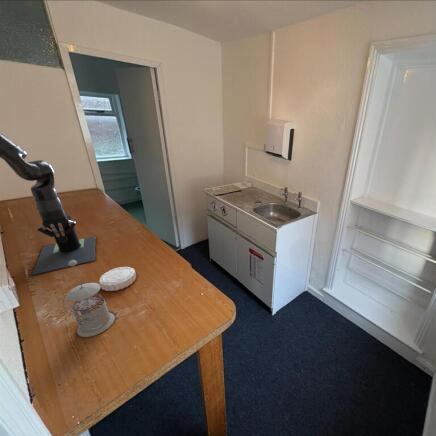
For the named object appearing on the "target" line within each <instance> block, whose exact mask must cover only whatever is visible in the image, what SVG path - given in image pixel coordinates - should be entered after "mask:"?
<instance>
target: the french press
mask: <svg viewBox="0 0 436 436" xmlns="http://www.w3.org/2000/svg"><path fill="white" fill-rule="evenodd" d="M76 264H77V262H76V261H75V260H71V261H69V262H68V266H71V267H73V269H74V271H75V274H76V278H77V279H78V282H79V285H77V286H75V287H74V288H72V289H71V290H70V291H68V292H67V294H66V295H65V298H64V299H63V300H62V303H61V305H62V307H63V310H65V311H66V312H67V313H68V314H70V315H73V316H74V318H75V320H76V322H77V325H78V327H77V330H76V334H77V335H78V336H79V337H83V338H90V337H94V336H97V335H99V334H101V333H103V332H104V331H106V330H107V329H109V328H110V327H111V326H112V325H113V324H114V322H115V318H116V317H115V315H114V314H113V313H112V312H110V311H109V308H108V305H107V302H106V300H105V298H104V297H103V295H102V294H100V293H99V292H100V290H101V286H100V284H99V282H98V283H97V282H88V283H87V282H86V283H82V282H81V279H80V277H79V275H78V274H79V273H78V272H77V270H76V267H75V266H77V265H76ZM74 265H75V266H74ZM65 301H66V303H67V304H68V306H69V307H70V308H71V309H72V312H71V311H69V310H68V309H67V308H66V306H65ZM70 302H74V303H73V304H72V305H71V304H70ZM79 312H80V314H79Z"/></svg>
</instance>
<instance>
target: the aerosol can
mask: <svg viewBox="0 0 436 436" xmlns="http://www.w3.org/2000/svg"><path fill="white" fill-rule="evenodd" d="M65 215H66V217H67V218H68V219H69V220H70V221H73V220H72V215H70V214H67V213H65ZM68 228H69V223H68V224H67V225H66V227H65V231H67V229H68ZM51 231H52V232H53V230H51ZM59 232H60V229H59ZM60 233H61V232H60ZM66 236H67V238H68V241H67V242H66V243H64V244H62V243H60V242H59V240H58V238H57V237H53V238H54V240H55V242H56V243H55V244H57V245H58V247H59V251H60V252H70V251H74V250H76V249H78V248H80V247H81V244H80V242H79V239H80V238H79V237H78V234H77V231H76V229H75V227H74V228H73V229H72V231H71V232H70V234H67V235H66Z"/></svg>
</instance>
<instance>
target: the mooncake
mask: <svg viewBox="0 0 436 436" xmlns="http://www.w3.org/2000/svg"><path fill="white" fill-rule="evenodd" d="M136 279H137V273H136V269H134V267H131V266H120V267H114V268H112V269H110V270H108V271H106V272H104V273H103V274H102V275H101V276H100V278H99V280H98V284H99V285H100V289H101V290H103V291H105V292H113V291H115V292H116V291H119V290H123V289H124V288H127V287H129V286H130V285H132V284H133V283H134V282H135V281H136Z"/></svg>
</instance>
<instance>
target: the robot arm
mask: <svg viewBox="0 0 436 436" xmlns="http://www.w3.org/2000/svg"><path fill="white" fill-rule="evenodd" d="M27 154H28V153H27V152H26V150H24V149H23V148H22V147H20V146H19V145H18V144H16V143H15V142H13V141H12V140H11V139H9V138H8V137H7V136H5V135H4V134H3V133H1V132H0V159H1V160H3V161H4V163H6V164H7V165H8V167H9V168H10V169H11V170H12V171H13V172H14V174H15V175H16V176H18V177H19V178H21V179H23V180H25V181H28V182H34V181H36V182H35V183H34V184H33V185H32V186H31V187H30V192H31V195H32V197H33V199H34V202H35V206H36V210H37V211H38V213H39V216H40V219H41V221H42V223H41V225H40V226H38V227H37V231H38V232H39V233H42V234H44V235H45V236H48V237H51V238H54V237H57V238H58V240H59V242H60V243H62V244H64V243H66V242H67V241H68V238H67V236H66V235H67V234H70V232H71V231H72V229H73V228H75V226H76V224H77V221H76V220H72V221H70V220H69V219H68V218H67V217H66V215H65V214H66V212H65V210H64V207H63V205H62V201H61V200H60V198H59V197H58V193H57V191H56V189H55V171H54V169H53V167H52V166H51V164H50V163H49V162H47V161H45V160H42V159H36V160H32V161H26V160H25V159H26V158H27V156H28V155H27ZM68 223H69V228H68V229H67V231H65V227H66V225H67V224H68ZM59 229H60V232H61V233H60V232H59ZM52 230H53V232H52Z"/></svg>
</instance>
